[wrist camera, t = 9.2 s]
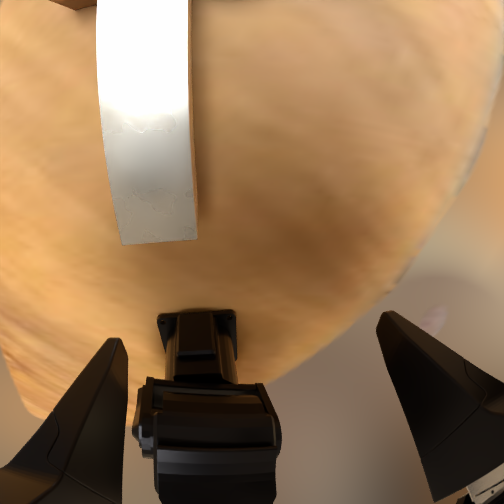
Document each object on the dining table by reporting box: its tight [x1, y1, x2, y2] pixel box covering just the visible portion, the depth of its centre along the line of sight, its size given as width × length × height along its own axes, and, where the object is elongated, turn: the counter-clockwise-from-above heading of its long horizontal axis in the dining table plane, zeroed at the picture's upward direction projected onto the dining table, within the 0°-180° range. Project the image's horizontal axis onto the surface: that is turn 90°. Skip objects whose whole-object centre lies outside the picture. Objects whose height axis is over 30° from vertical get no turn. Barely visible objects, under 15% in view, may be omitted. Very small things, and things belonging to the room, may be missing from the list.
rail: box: [96, 0, 198, 245], centre depth 13 cm, size 16×4×5 cm, turn 0°
